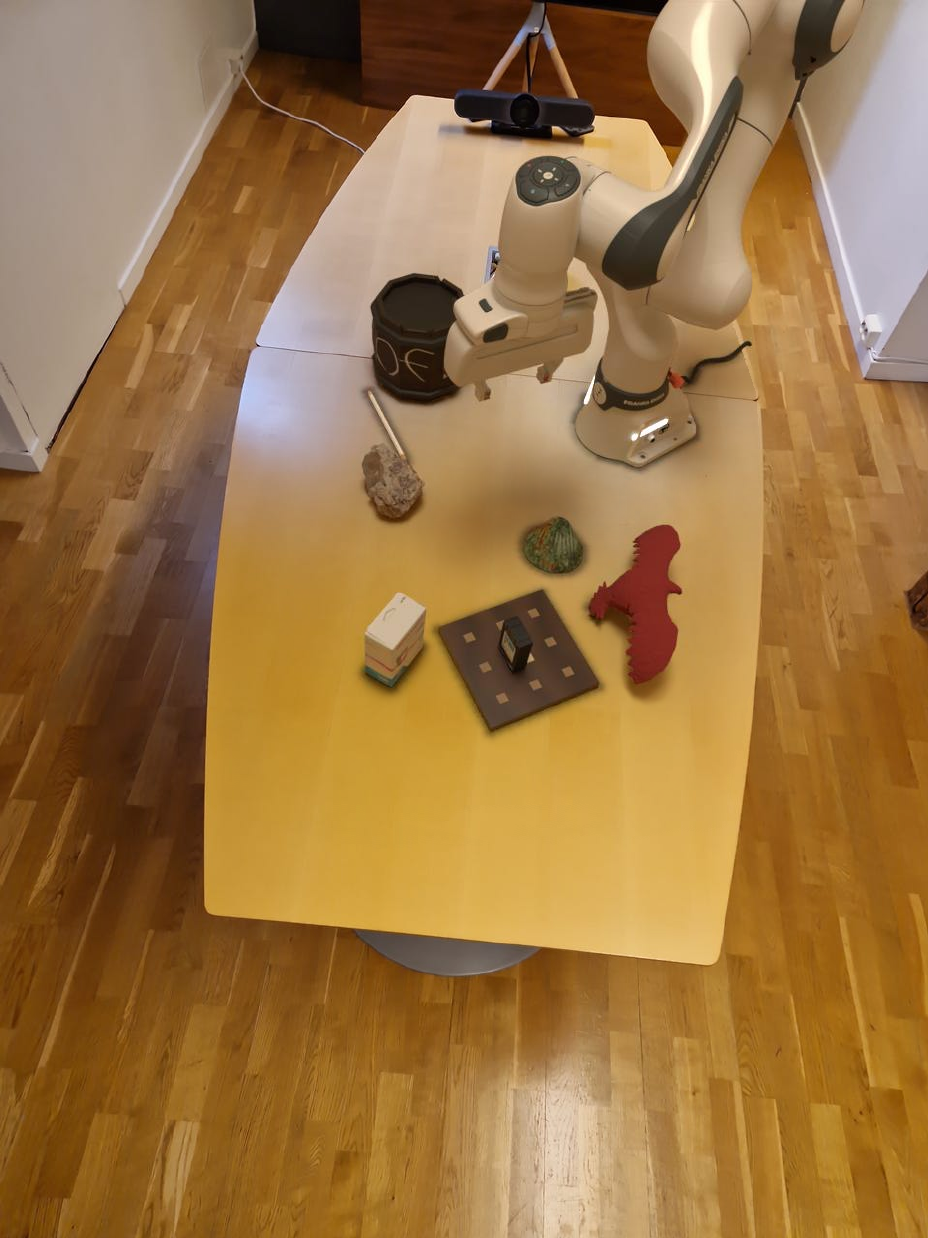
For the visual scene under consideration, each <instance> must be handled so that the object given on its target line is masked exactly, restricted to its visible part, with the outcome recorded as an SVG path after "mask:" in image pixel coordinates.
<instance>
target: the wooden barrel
mask: <svg viewBox="0 0 928 1238" xmlns="http://www.w3.org/2000/svg"><path fill="white" fill-rule="evenodd" d="M465 295H466V294H464V291H463V289H462V288H460V287H459V286H457V285H455V284H454V283H453V282H451V281H450V280H448V279H447V278H445V277H443V278H442V279H440V277H439V275H433V274H426V273H417V272H412V273H409V274H405V275H402V276H399V277H396V278H392V279H389V280H388V281H387V282H386V284H385V285H384V286H383V287H382V289H381V290H380V291H379V292H378V294H377V295H376V297H375V298H374V300H373V301H372V302H371V303H370V307H369V309H370V313H371V316H372V321H371V339H372V340H371V341H372V346H373V354H372V355H371V360H372V364H373V369H374V373H375V376H376V377H375V378H376V380H377V382H379V383H380V384H381V385H382V387H384V389H386V390H388V391H389V392H390V393H392V394H393V395H395V396H396V397H398V398H399V399H400V400H403V401H411V402H412V401H413V402H421V403H427V404H428V403H432V402H434V401H436V400H439V399H442V398H445V397H447V396H450V395H452V394H453V392H454V391H456V390H457V387H458V386H457V385H456V384H454V383H453V382H452V381H451V379H450V378H449V376H448V374H447V373H446V371H445V368H444V354H445V347H446V341H447V336H448V332H449V330H450V328H451V326H452V324H453V323H454V322H455V321H456V320H457V319H456V317H455V315H454V312H453V307H454V303H455V302H456V301H457V300H458V299H460V298H461V297H463V296H465Z"/></svg>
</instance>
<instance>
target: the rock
mask: <svg viewBox="0 0 928 1238" xmlns="http://www.w3.org/2000/svg"><path fill="white" fill-rule="evenodd" d="M361 469H362V474H363V475H364V477H365V485H366V489H367V491H368V492H367V495H368V496H369V498H372V499H373V500H374V503H375V504H376V509H377V512H378V513H379V514H380V515H382V516H385V517H389V518H390V519H391V518H393V519H397V518H401V517H402V516H403V515H404V513H406V512H408V511H409V510H410V509H411V507H412V506H413V505H414V504H416V502H417V500H418V499H419V497H420V496H421V495H422V494H423V488H424V487H425V485H426V483H425V481H424V480H422V479H421V478H420V477H419V475H418V474H417V470H415V469H414V468H413V465H412V464H411V463H409V460H408V458H407V457H406V456H405V457H404V456H400V454H399V453H396V451H395V450H393V449H391V448H390V447H389V446H388V445H387V444H385V443H383V442H382V443H380V444H373V445H371V447H370V451H369V452H367V453H366V454H365V455H364V456H363V460H362V462H361Z"/></svg>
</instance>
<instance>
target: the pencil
mask: <svg viewBox="0 0 928 1238" xmlns="http://www.w3.org/2000/svg"><path fill="white" fill-rule="evenodd" d="M365 392H366V394H367V395H368V398H369V399H370V401H371V403H372V405H373V406H374V408H375V410H376V412H377V414H378V416H379V418H380V420H381V422H382V425H383V426H384V427H385V430H386V432H387V433H388V435H389V437H390V439H391V441H392V443H393V445H394V447H395V449H396V450H397V452H398V455H399V456H404V457H406V454H405V452H404V451H403V449H402V446H401V445H400V442H399V441H398V439H397V437H396V436H395V433H394V431H393V430H392V428H391V426H390V424H389V422H388V420H387V418H386V416H385V415H384V413H383V411H382V409H381V407H380V405H379V404H378V401H377V400H376V398H375V396H374V394H373V392H372V390H371V389H370V388H367V389H366V390H365Z"/></svg>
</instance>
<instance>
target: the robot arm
mask: <svg viewBox="0 0 928 1238" xmlns="http://www.w3.org/2000/svg"><path fill="white" fill-rule="evenodd" d="M864 4H865V0H668V1H667V3H665V5H664V7H663V8H662V9H661V11H660V12H659V14H658V16H657V18H656V20H655V21H654V24H653V26H652V28H651V31H650V33H649V36H648V41H647V45H646V46H647V47H646V63H647V64H646V65H647V70H648V74H649V78H650V81H651V83H652V85H653V87H654V90H655V92H656V93H657V95H658V98H660V100H661V101H662V103H663V104H664V105H665V106H666V107H667V108H668V109H669V111H671V113H672V114H673V115H674V116H675V117H676V118H677V120H678V121H679V122H680V123H681V125H682V126H683V127H684V129H685V131H686V133H687V134H688V136H687V138H686V140H685V141H684V144H683V145H682V148H681V150H680V152H679V154H678V155H677V156H678V157H677V159H676V161H675V162H674V164H673V167H672V168H671V171H670V173H669V175H668V177H667V179H666V181H665V182H664V185H663V187H661V188H660V189H656V190H647V189H644V188H642V187H640V186H638V185H636V184H634V183H631V182H629V181H628V180H625V179H624V178H621V177H620V176H617V175H616V174H614V173H612V172H611V171H609V170H607V169H605V168H603V167H601V166H599V165H596V164H595V163H593V162H591V161H589V160H586V159H584V158H580V157H578V156H567V157H565V158H564V157H562V156H561V157H560V156H557V155H540V156H537V157H534V158H530V159H529V160H527V161H525V162H524V163H522V164H521V165H520V166H519V167H518V168H517V170H516V171H515V173H514V174H513V177H512V178H511V181H510V185H509V188H508V191H507V194H506V198H505V201H504V206H503V210H502V214H501V220H500V226H499V232H498V241H497V250H498V251H497V252H498V256H499V260H498V264H497V266H496V268H495V271H494V274H493V277H491V278H490V279H489V280H487V281H486V282H485V283H483V284H482V285H481V286H478V287H477V288H476V289H474V290H472V291H471V292H469V293H467V294H464V295H465V296H463V297H461V298H460V299H458V300H457V301H456V302H455V303H454V307H453V312H454V315H455V317H456V319H457V320H456V321H455V322H454V323H453V324H452V326H451V328H450V330H449V332H448V336H447V341H446V347H445V354H444V368H445V371H446V373H447V374H448V376H449V378H450V379H451V381H452V382H453V383H454V384H456V385H457V387H459V388H461V387H462V388H463V387H465V386H468V385H472V384H473V385H474V386H475V387H474V396H475V397H476V399H477V401H478V402H479V403H481V402H484V401H487V400H490V399H491V395H492V394H491V393H492V389H491V388H490V387H489V386H488V383H487V382H486V380H487V381H488V380H490V379H493V378H498V377H501V376H504V375H508V374H512V373H515V372H518V371H519V372H520V371H522V370H526V369H529V368H533V367H537V369H536V375H535V376H536V379H537V381H539V384H540V385H543V384H548V383H550V382H552V379H553V375H554V373H555V372H556V371H557V370H558V369H559V367H560V366H561V365H562V364H563V362H564V360H565V358H569V357H573V356H577V355H580V354H583V353H585V352H586V351H587V350H588V348H589V347H590V346H591V344H592V340H593V332H594V325H595V324H594V323H595V315H594V314H595V313H594V312H595V310H596V307H597V303H598V300H599V299H598V298H599V297H598V296H599V295H598V292H597V291H596V290H595V289H593V288H590V286H583V287H579V288H578V289H573V290H568V286H569V277H568V270H569V267H570V266H571V264H572V262H573V260H574V259H576V260H578V261H580V262H582V263H584V264H585V267H586V270H587V272H588V273H589V274H590V275H591V276H592V278H593V279H594V281H595V282H596V284H597V286H598V288H599V290H600V292H601V295H602V298H603V301H604V304H605V307H606V312H607V318H608V329H607V330H608V332H607V336H606V342H605V346H604V351H603V355H601V357H600V359H599V361H598V364H597V366H596V370H595V373H594V376H593V379H592V381H591V384H590V386H589V388H588V391H587V392H586V394H585V397H584V400H583V405H582V408H581V409H580V411H579V413H578V415H577V416H576V417H575V418H576V419H575V421H574V422H575V423H574V428H575V429H574V430H575V434H576V435H577V438H578V439H579V441H580V442H581V444H582V445H584V447H586V449H588V450H589V451H591V452H592V453H594V454H596V455H597V456H600V457H603V458H606V459H610V460H615V461H621V462H623V463H626V464H628V465H629V466H632V467H635V468H642V467H644V466H646V465H648V464H649V463H651V462H653V461H654V460H656V459H658V458H660V457H662V456H664V455H665V454H667V453H669V452H670V451H672V450H674V449H676V448H677V447H679V446H681V445H683V444H685V443H687V442H688V441H689V440H692V439H693V438H695V437H696V433H697V425H696V422H695V419H694V417H693V415H692V413H691V412H690V405H689V404H690V403H689V401H688V399H687V397H686V395H685V392H683V390H682V387H683V385H684V383H686V384H692V383H693V381H694V380H695V378H696V376H697V373H698V370H699V369H700V368H701V367H702V366H704V365H706V364H713V363H722V362H727V361H729V360H731V359H733V358H734V357H735V356H737V355H738V354H739V353H740V352H742V351H743V350H744V349H745V348H746V347H752V346H753V344H752V342H751V341H749V340H746V341H744V342H743V343H741V344H740V346H739V345H738V347H737V348H736V349H734V350H733V351H732V352H731V353H729V354H727V355H725V356H720V357H709V358H704V359H702V360H700V361H699V362H697V364H695V365H694V367H693V369H692V371H691V373H690V376H687V375H680V374H679V373H678V372H673V371H672V367H671V365H672V363H673V360H674V357H675V354H676V351H677V349H678V343H679V341H678V333H677V329H676V326H675V324H674V321H673V320H672V318H671V317H673V318H674V319H677V320H679V321H681V322H684V323H685V324H688V325H692V326H696V327H700V328H705V329H708V330H713V331H718V330H720V329H724V328H726V327H727V326H728V325H730V324H733V322H734V321H736V320H737V318H739V316H740V315H741V314H742V313H743V312H744V310H745V309H746V307H747V305H748V304H749V301H750V299H751V295H752V290H753V274H752V270H751V266H750V265H749V262H748V260H747V257H746V255H745V251H744V247H743V239H742V238H743V237H742V236H743V235H742V228H743V218H744V213H745V209H746V206H747V204H748V201H749V198H750V195H751V194H752V191H753V189H754V186H755V184H756V183H757V180H758V178H759V177H760V174H761V172H762V170H763V168H764V166H765V164H766V162H767V160H768V158H769V156H770V154H771V152H772V151H773V149H774V147H775V145H776V143H777V141H778V139H779V137H780V135H781V133H782V130H783V128H784V126H785V124H786V122H787V119H788V117H789V114H790V112H791V109H792V106H793V103H794V101H795V99H796V95H797V92H798V89H799V86H800V83H801V81H804V80H806V79H808V78H810V77H811V76H812V75H813V74H814V73H815V72H816V71H817V70H819V69H821V68H823V67H824V66H826V65H827V64H829V63H830V62H831V61H832V60H834V58H836V57H837V56H838V55H839V54H840V53H841V52H842V51H843V50H844V48H845V47H846V46H847V44H848V43H849V41H850V40H851V38H852V36H853V34H854V32H855V29H856V27H857V26H858V23H859V21H860V18H861V15H862V12H863V8H864V6H865V5H864ZM693 217H694V219H693ZM692 219H693V221H692ZM691 222H692V224H691ZM690 224H691V227H690V228H689V225H690ZM688 229H689V230H688Z"/></svg>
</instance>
